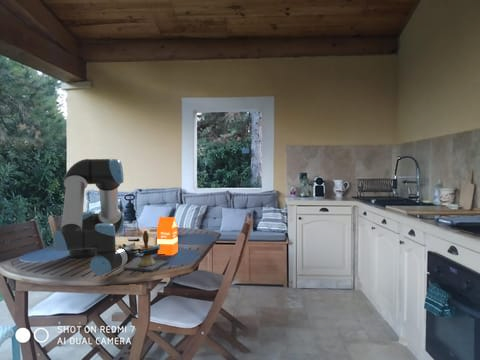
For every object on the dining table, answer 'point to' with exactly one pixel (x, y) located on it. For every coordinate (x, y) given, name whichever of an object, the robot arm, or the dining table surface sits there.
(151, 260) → the hand bell
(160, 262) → the place mat
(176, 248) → the orange juice
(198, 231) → the dining table surface
